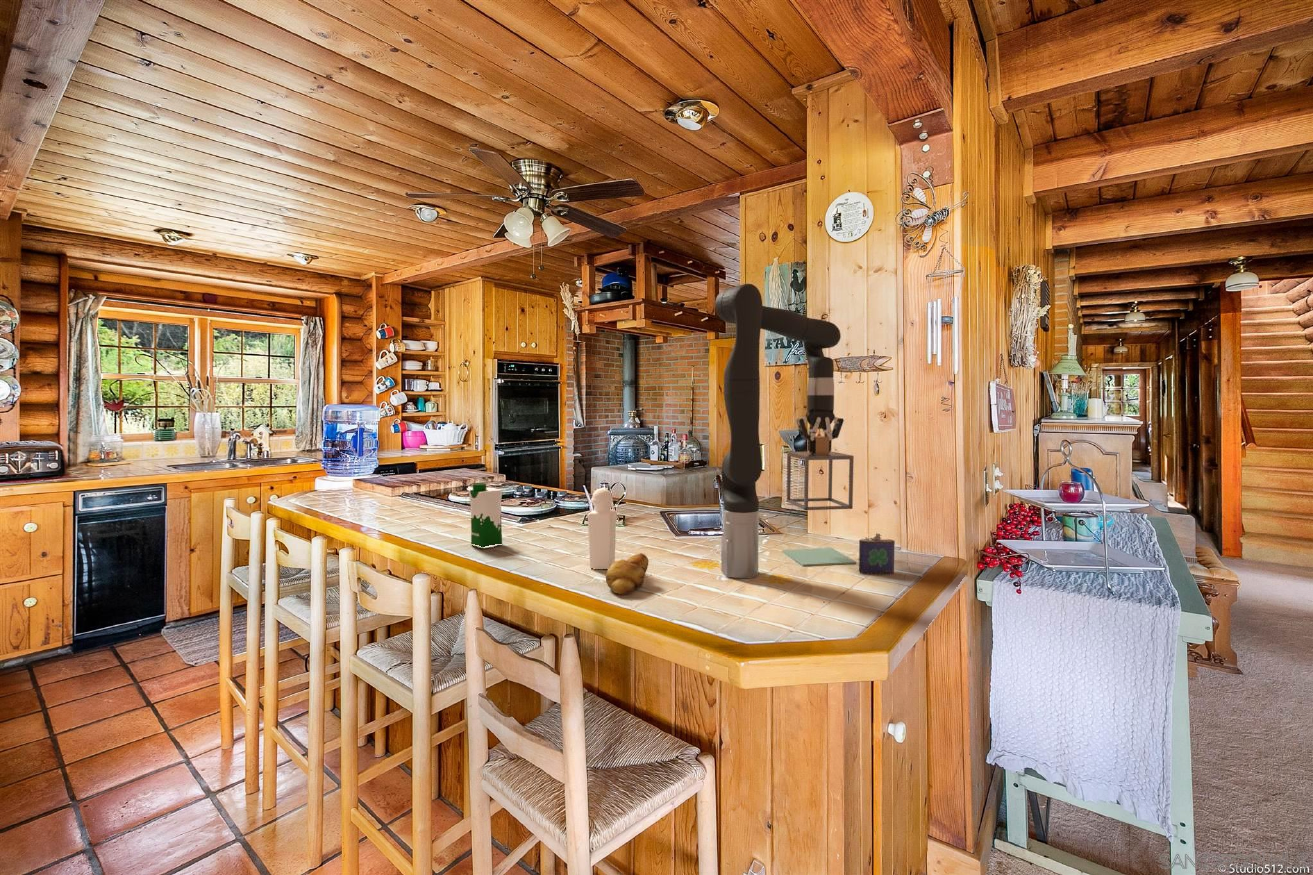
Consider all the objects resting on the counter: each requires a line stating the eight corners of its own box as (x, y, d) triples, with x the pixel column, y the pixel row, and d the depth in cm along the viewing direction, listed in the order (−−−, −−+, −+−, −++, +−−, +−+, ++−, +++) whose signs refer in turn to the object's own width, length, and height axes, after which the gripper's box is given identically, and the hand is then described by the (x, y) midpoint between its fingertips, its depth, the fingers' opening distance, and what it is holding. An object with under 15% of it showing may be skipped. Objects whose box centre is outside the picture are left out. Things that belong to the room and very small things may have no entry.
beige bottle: (616, 564, 166) (616, 486, 165) (611, 571, 160) (610, 490, 158) (594, 563, 167) (593, 486, 166) (587, 569, 161) (587, 489, 159)
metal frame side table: (805, 510, 164) (806, 438, 162) (786, 501, 178) (787, 435, 176) (852, 508, 166) (854, 437, 164) (830, 500, 180) (831, 434, 178)
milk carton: (467, 545, 187) (465, 483, 186) (492, 540, 194) (491, 480, 193) (481, 550, 181) (479, 486, 180) (506, 545, 188) (505, 483, 187)
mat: (802, 566, 164) (802, 564, 164) (782, 551, 179) (782, 549, 179) (856, 563, 166) (856, 561, 166) (831, 549, 182) (831, 547, 182)
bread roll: (634, 599, 138) (633, 565, 137) (595, 595, 140) (595, 562, 140) (651, 582, 150) (651, 551, 149) (615, 579, 153) (615, 548, 152)
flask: (892, 571, 159) (893, 532, 158) (896, 574, 156) (897, 534, 155) (857, 571, 159) (858, 532, 158) (860, 574, 156) (861, 534, 155)
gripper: (802, 393, 165) (801, 454, 166) (849, 393, 167) (848, 454, 168) (792, 394, 172) (791, 452, 173) (837, 394, 174) (836, 451, 175)
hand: (819, 453), depth 171 cm, fingers closed on metal frame side table, 4 cm apart
